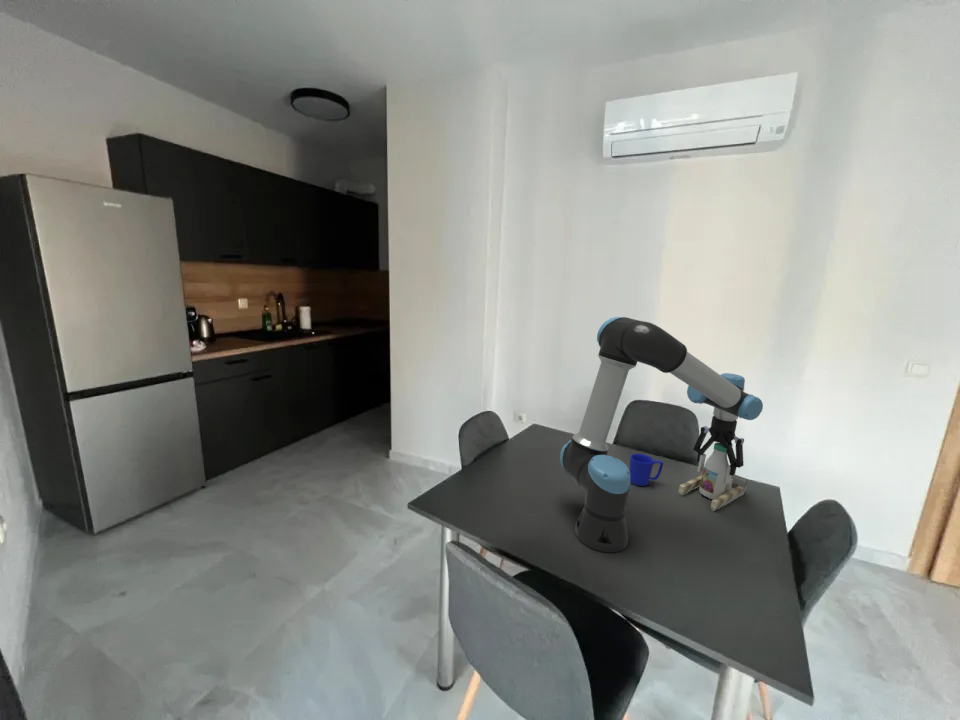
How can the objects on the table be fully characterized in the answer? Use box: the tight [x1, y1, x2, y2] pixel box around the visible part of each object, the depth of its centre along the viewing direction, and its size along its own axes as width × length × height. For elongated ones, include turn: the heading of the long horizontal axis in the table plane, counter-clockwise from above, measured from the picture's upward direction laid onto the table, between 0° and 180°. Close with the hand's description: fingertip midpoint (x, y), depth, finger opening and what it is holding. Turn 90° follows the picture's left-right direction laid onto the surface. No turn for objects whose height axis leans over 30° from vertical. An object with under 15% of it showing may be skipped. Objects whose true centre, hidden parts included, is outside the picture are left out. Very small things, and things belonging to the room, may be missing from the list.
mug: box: [629, 453, 664, 487], centre depth 155 cm, size 8×12×10 cm
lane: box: [677, 474, 749, 510], centre depth 149 cm, size 22×13×6 cm, turn 125°
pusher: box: [724, 478, 733, 493], centre depth 152 cm, size 4×9×7 cm, turn 35°
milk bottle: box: [698, 442, 730, 498], centre depth 147 cm, size 8×8×20 cm
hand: (713, 476), depth 148 cm, fingers open, 9 cm apart
